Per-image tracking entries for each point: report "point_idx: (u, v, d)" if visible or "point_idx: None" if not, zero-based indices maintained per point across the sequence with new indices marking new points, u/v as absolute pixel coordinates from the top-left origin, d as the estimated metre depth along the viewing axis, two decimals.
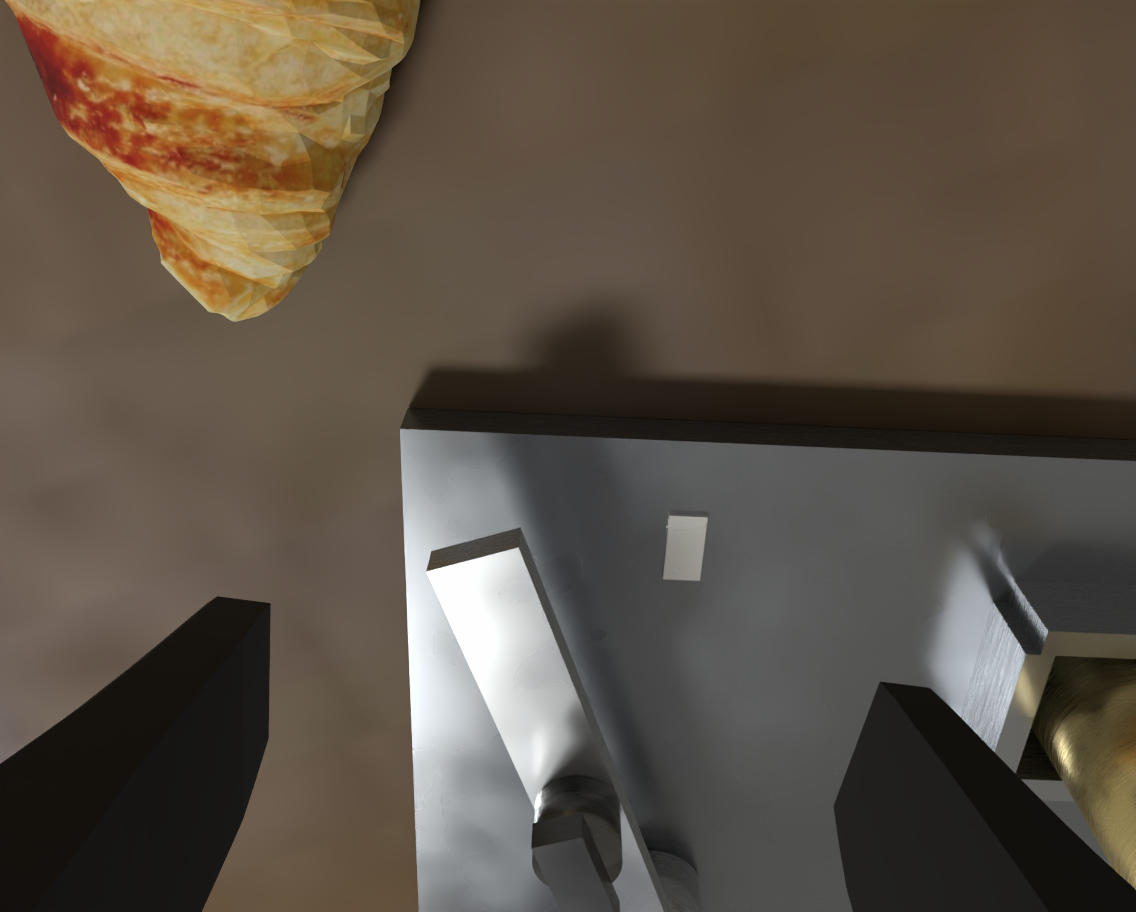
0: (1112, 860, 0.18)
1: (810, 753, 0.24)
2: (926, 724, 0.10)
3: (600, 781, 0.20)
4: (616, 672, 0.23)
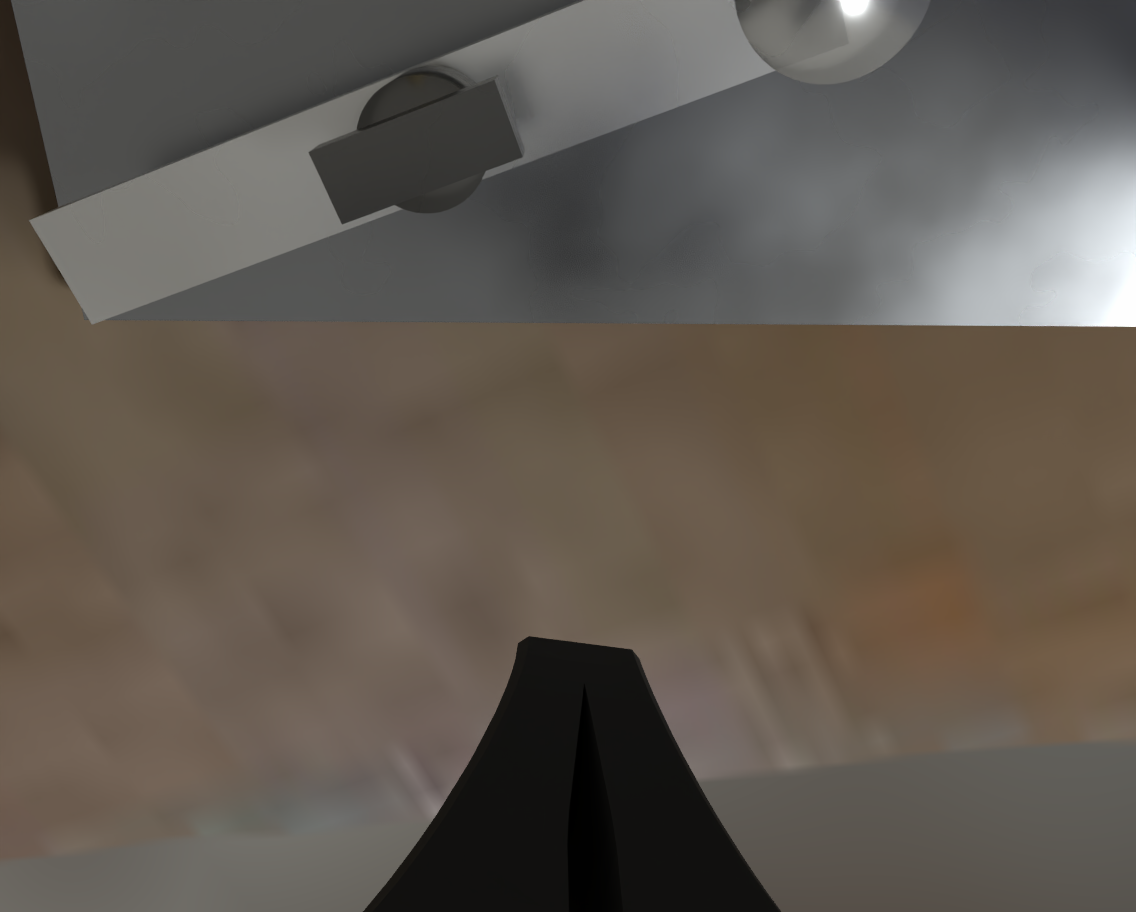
0: None
1: None
2: (599, 683, 0.10)
3: None
4: (374, 53, 0.17)
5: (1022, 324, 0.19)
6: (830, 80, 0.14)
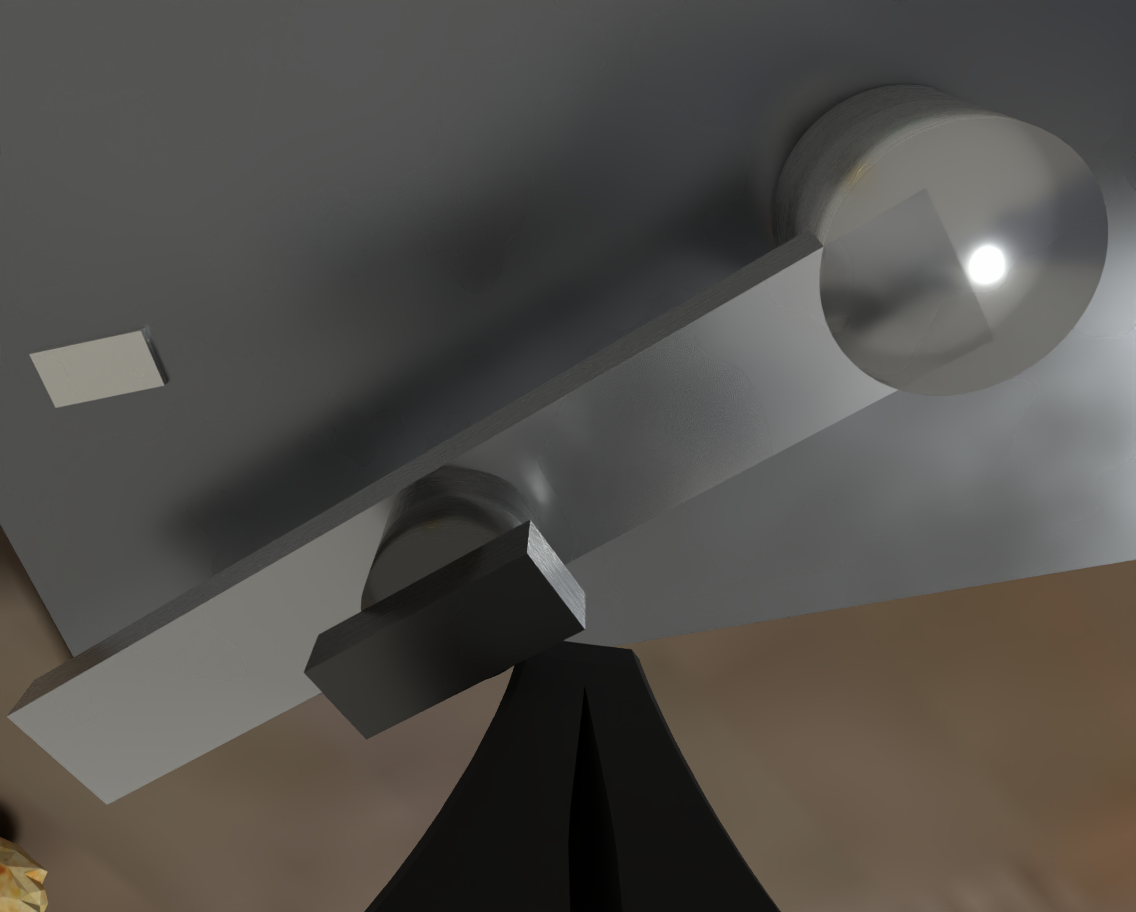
0: None
1: None
2: (598, 682, 0.10)
3: (388, 519, 0.11)
4: (374, 399, 0.14)
5: None
6: (976, 388, 0.10)
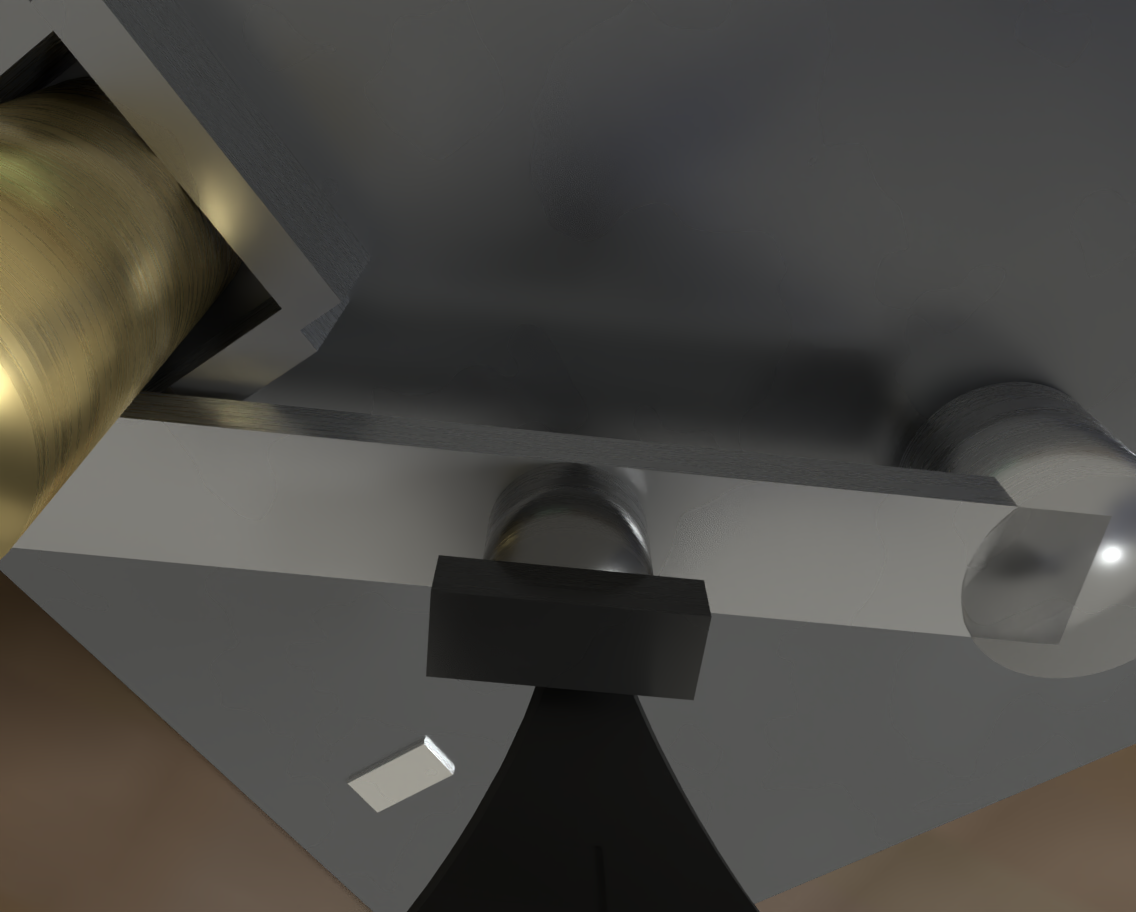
0: (79, 459, 0.08)
1: None
2: None
3: (521, 476, 0.11)
4: None
5: None
6: (1018, 670, 0.12)
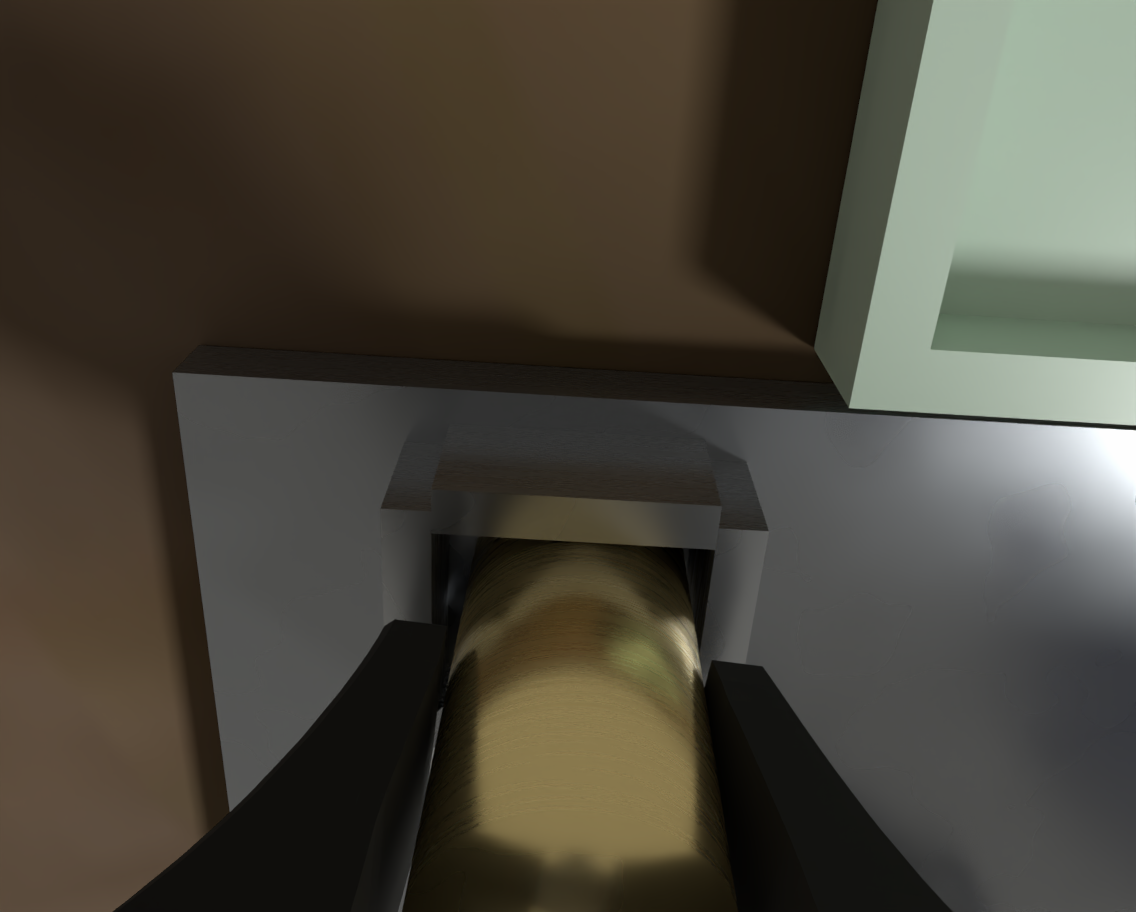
0: None
1: None
2: (742, 701, 0.10)
3: None
4: None
5: None
6: None
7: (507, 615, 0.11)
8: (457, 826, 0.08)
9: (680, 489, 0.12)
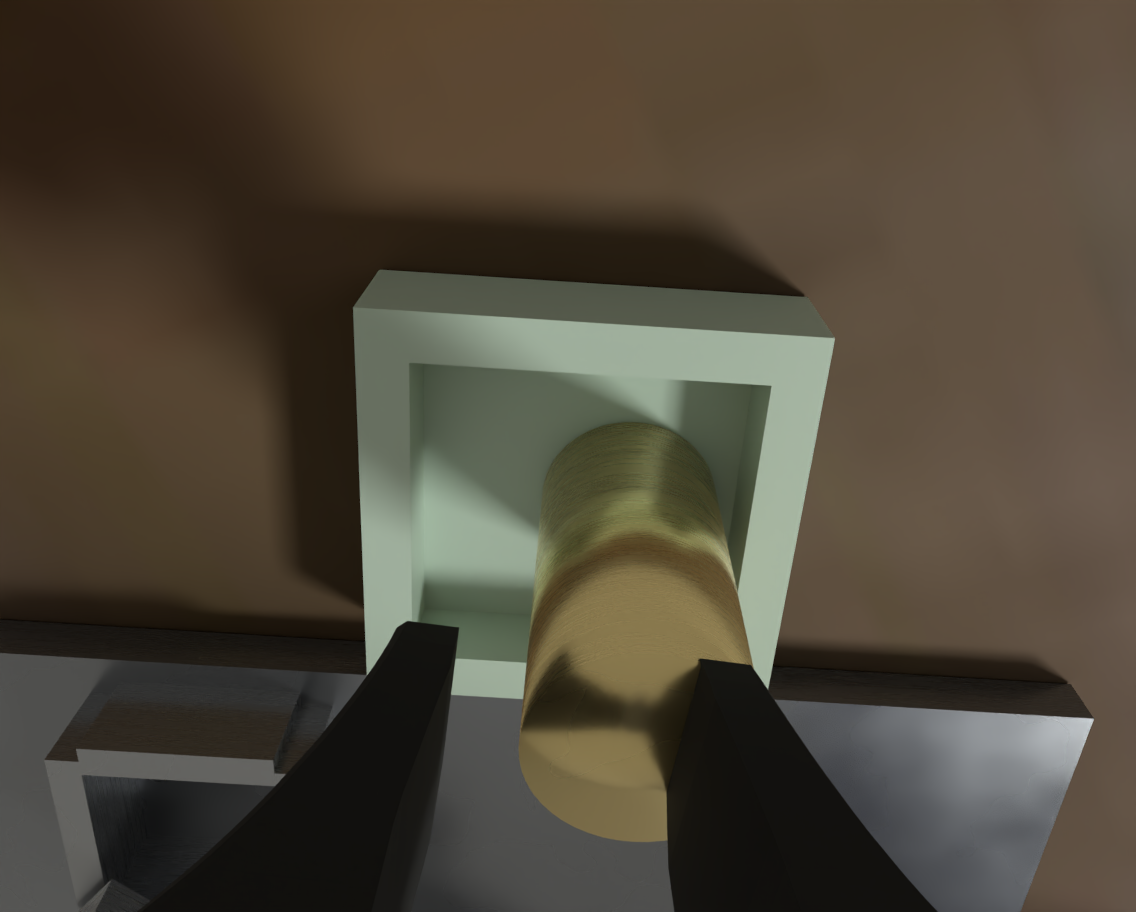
0: None
1: None
2: (730, 699, 0.10)
3: None
4: None
5: None
6: None
7: (603, 520, 0.14)
8: (584, 657, 0.11)
9: (253, 743, 0.17)
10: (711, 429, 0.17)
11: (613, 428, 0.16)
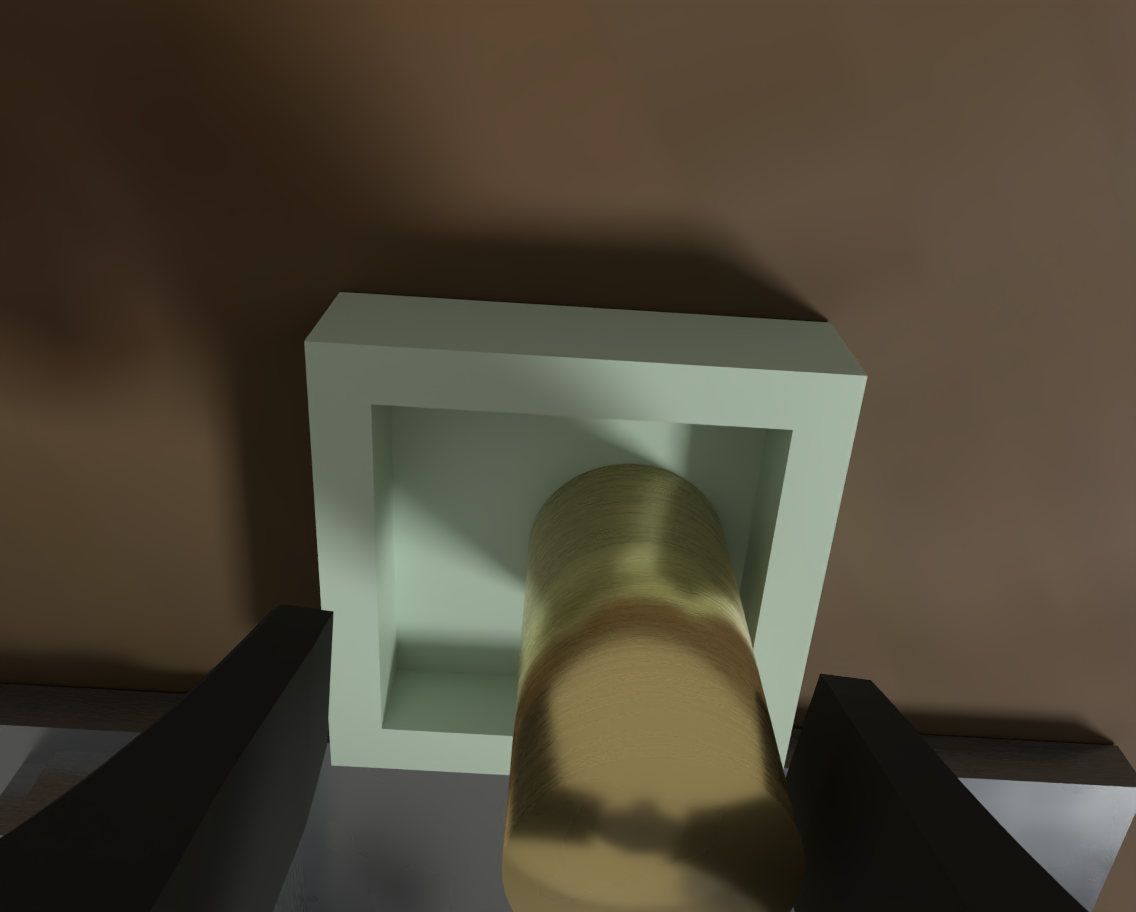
0: None
1: None
2: (861, 716, 0.10)
3: None
4: None
5: None
6: None
7: (602, 583, 0.12)
8: (582, 760, 0.09)
9: None
10: (721, 472, 0.15)
11: (611, 470, 0.14)
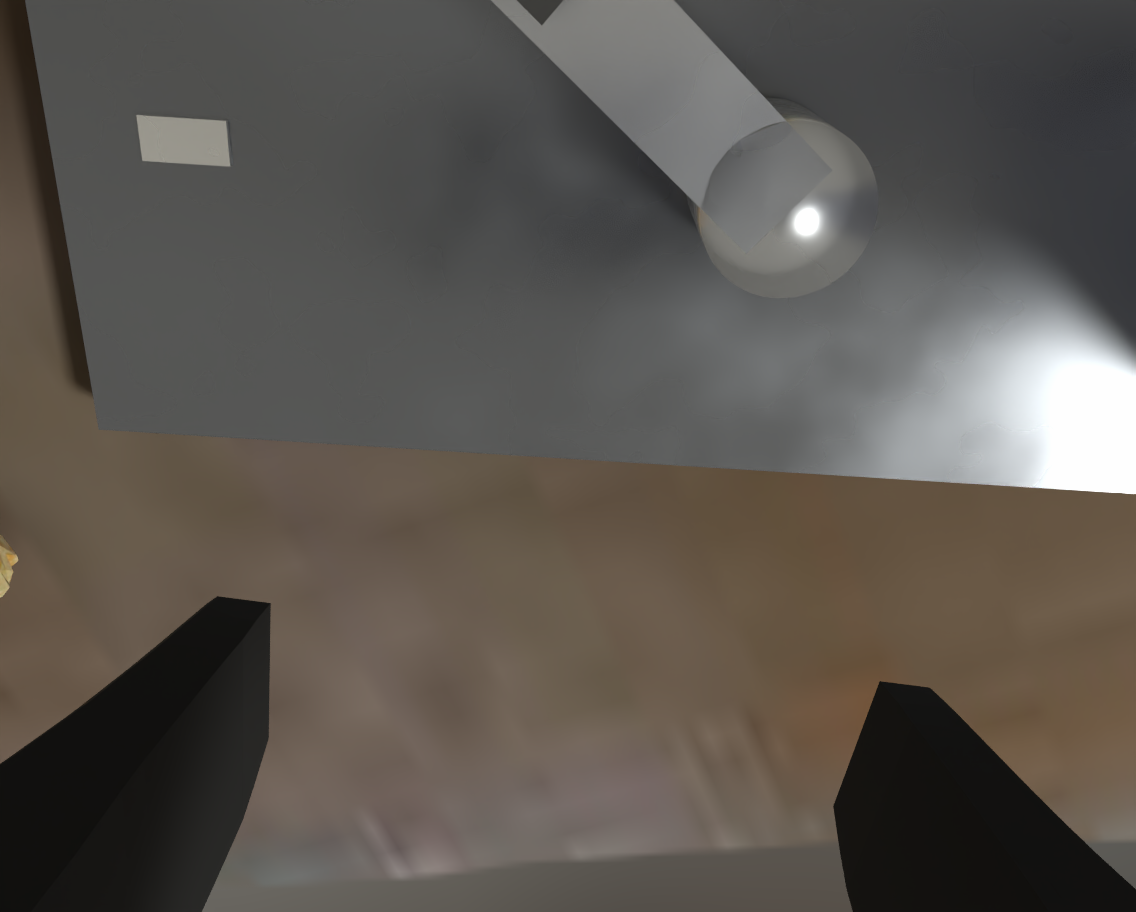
0: None
1: None
2: (926, 724, 0.10)
3: None
4: (379, 220, 0.19)
5: (951, 481, 0.21)
6: (712, 256, 0.16)
7: None
8: None
9: None
10: None
11: None
